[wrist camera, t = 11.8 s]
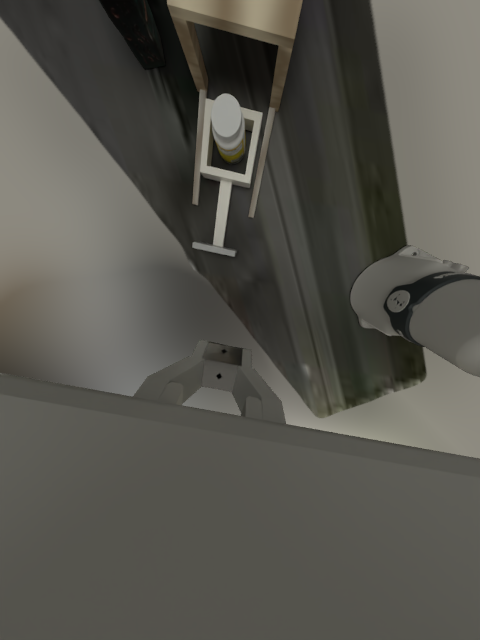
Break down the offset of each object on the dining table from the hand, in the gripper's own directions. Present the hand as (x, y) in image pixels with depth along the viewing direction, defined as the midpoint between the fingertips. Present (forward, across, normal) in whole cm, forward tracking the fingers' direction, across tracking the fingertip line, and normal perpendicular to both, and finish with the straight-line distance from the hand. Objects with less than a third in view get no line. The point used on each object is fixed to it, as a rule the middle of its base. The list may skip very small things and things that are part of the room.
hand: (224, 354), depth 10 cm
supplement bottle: (+31, -6, +20) cm, 37 cm away
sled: (+31, -6, +13) cm, 34 cm away
